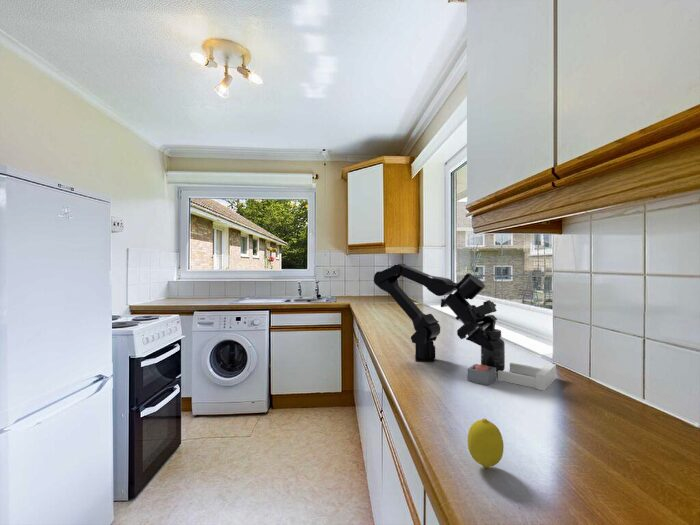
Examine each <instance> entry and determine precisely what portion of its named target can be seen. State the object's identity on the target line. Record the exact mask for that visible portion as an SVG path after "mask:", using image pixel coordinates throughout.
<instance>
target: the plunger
mask: <svg viewBox="0 0 700 525" xmlns="http://www.w3.org/2000/svg"><path fill="white" fill-rule="evenodd" d="M478 364H479V363H478ZM474 365H475V364H474ZM475 369H476V370H481V371H488V366H486V365H481V363H480V364H479V365H475Z"/></svg>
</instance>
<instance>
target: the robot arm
mask: <svg viewBox="0 0 700 525" xmlns="http://www.w3.org/2000/svg"><path fill="white" fill-rule="evenodd" d="M401 277H404V278H405V279H408V280H410V281H412V282H415V283H417V284H419V285H422V286H423V287H425V288H426V289H427V290H428V291H429V292H430V293H432V294H433V295H434V296H437V297H442V296H443V297H444V296H446V297H445V298H441V299H440V301H441V302H440V308H445V307H449V309H450V310H451V311H452V312H453V313H454V314H455V316H456V317H455V319H456V320H457V321H459V320H460V321H461V322H462V324H463V325H461V326H460V327H459V328H458V329H457V331H456V334H457V336H458V338H459V339H460V340H464V339H465V340H466V341H469V342H472V343H474V344H476V345H478V346H480V347H481V346H482V347H484V348H486V349H488V350H489V351H493V350H494V348H493V347H492V345H491V343H490V342H489V341H488V339H487V338H486V336H485V335H484V330H485V329H496V323H497V322H496V321H497V320H498V318H497V317H496V316H495V315H494V314H492V313H496V312H497V308H496V307H497V304H496V303H495V302H494V301H491V300H490V299H489V300H486V301H483V304H481V305H478V306H476V305H475V304H470V303H469V301H468V300H473V299H474V298H475V297H476V296H477V295H479V294H480V293H481V292H482V291H483V290H484V289H485V287H486V285H485V284H484V283H483V281H482V280H481V279H479V278H478V277H476V276H475V275H472V274H471V273H470V272H468V273H466V274H465V275H464V277H463V278H462V279H461V280H460V281H459V282H454V281H453V280H452V279H451V278H447V277H442V276H435V275H431V274H428V273H426V272H424V271H421V270H418V269H416V268H413V267H412V266H411V267H410V266H409V265H406V264H405V263H396V264H394V265H392V266H391V267H389V268H386V269H383V270H380V271H376V272H375V273H374V275H373V283H374V285H375V286H377V287H378V288H379V289H380V290H383V292H385V293H387V294H388V295H390V297H391V298H392V299H393V300H394V301H395V303H396V304H397V305H398V307H400V308H401V309H402V311H403V312H404V313H405V314H406V315H407V317H408V318H409V319H410V321H412V325H413V329H414V331H415V332H414V333H413V334H412V335H411V336H410V340H411V343H413V344H414V347H415V348H414V349H415V350H414V351H415V354H414V360H415V361H416V362H417V361H418V362H435V359H436V345H435V344H434V342H436V341H437V338H438V336H439V335H440V333H441V325H440V323H439V320H437V319H436V318H435V317H434V315H433V314H432V313H428V314H427V313H424V312H422V310H421V309H420V308H419V307H418V306H417V305H416V304H415V302H414V301H413V300H412V299H411V298H410V297H409V295H408V294H407V293H406V292H405V291H404V290H403V289H402V287H401V286H400V285H399V281H398V279H400V278H401Z"/></svg>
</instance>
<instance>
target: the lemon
mask: <svg viewBox="0 0 700 525" xmlns="http://www.w3.org/2000/svg"><path fill="white" fill-rule="evenodd" d="M467 449H468V452H469V454H470V456H471V458H472V459H473V460H474V461H475V462H477V463H478V464H479V465H480V466H482V467H483V468H484V469H488V468H489V467H494V466H497V465H498V464H499V463H500V462H501V460H502V458H503V455H504V440H503V436H502V433H501V431H500V429H499V428H498V426H497V425H496V424H494V423H493V422H492V421H489V420H488V419H487V418H482V419H479V420H476V421H475V422H473V423H472V424H471V425H470V427H469V428H468V433H467Z"/></svg>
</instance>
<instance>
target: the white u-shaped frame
mask: <svg viewBox="0 0 700 525" xmlns="http://www.w3.org/2000/svg"><path fill="white" fill-rule="evenodd" d="M556 379H557V364H554V363H547V364H546V365H545V366H543V367H538V366H532V365H526V364H522V363H521V364H520V363H514V362H510V363H509V371H505V370H503V371H500V370H499V371H498V372H497V381H501V382H507V383H511V384H515V385H516V384H517V385H520V386H524V387H529V388H535V389H536V390H540V391H546V390H547V389H549V388H548V387H550V385H551V384H552V383H553V382H554V381H555V380H556Z"/></svg>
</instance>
